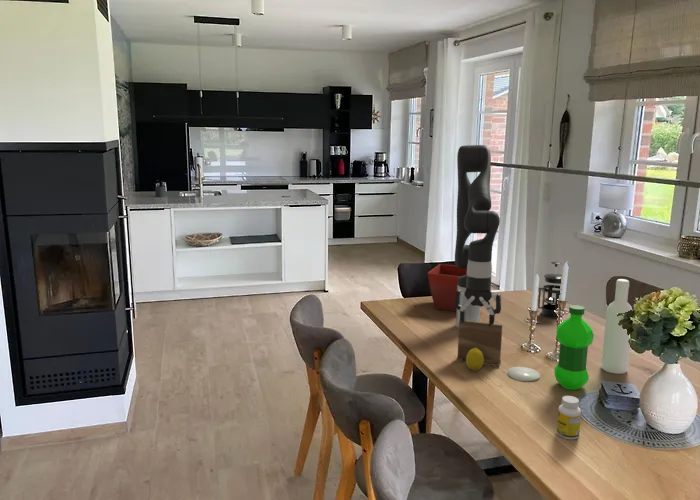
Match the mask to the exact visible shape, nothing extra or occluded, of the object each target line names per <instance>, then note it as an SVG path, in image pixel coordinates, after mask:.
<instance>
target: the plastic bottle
mask: <svg viewBox="0 0 700 500" xmlns="http://www.w3.org/2000/svg"><path fill="white" fill-rule="evenodd" d="M568 308H569V309H568V313H569V314H570V317H569V318H566V319H565V320H564V321H562V322H560V323H559V324H558V325H557V327H556V338H557V341H558V342H559V349H558V350H559V351H558V363H557V364H556V366H555V367H554V377H555V380H556V381H557V383H558V384H559V385H560V386H561V387H563V388H564V389H566V390H572V391H573V390H574V391H575V390H578V389H580V388H581V387H583V386H585V385H586V384H587V383H588V382H589V373H588V370H587V361H588V360H587V359H588V350H589V346H590V345H592V343H593V341H594V332H593V328H592V327H591V326H590V325H589V324H588V322H586V321H585V320H584V319H583V315H584V314H585V311H586V310H585V306H582V305H577V304H575V305H574V304H572V305H569V306H568Z"/></svg>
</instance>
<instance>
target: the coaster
mask: <svg viewBox="0 0 700 500" xmlns="http://www.w3.org/2000/svg"><path fill="white" fill-rule="evenodd" d="M506 374H507V376H508V377H509V378H511V379H513V380H515V381H520V382H536V381H538V380H540V378H541V374H540V372H538V370H536V369H533V368H530V367H525V366H514V367H510V368H508V369H507V372H506Z"/></svg>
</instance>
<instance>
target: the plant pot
mask: <svg viewBox="0 0 700 500" xmlns="http://www.w3.org/2000/svg"><path fill="white" fill-rule="evenodd" d="M464 275H467V269H466V268H458V267H457V266H456V264H443V263H440V264H438V265H437V266H435V267H433V268H432V269H431V270H429V271H428V272H427V279H428V284H429V289H430V290H429V291H430V295H431V298H432V302H433V304H434V308H435V309H437V310H445V311H450V312H456V309H455V308H454V305H455V296H456V291H457V285H458V278H459V277H461V276H464Z"/></svg>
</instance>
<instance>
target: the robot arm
mask: <svg viewBox="0 0 700 500" xmlns="http://www.w3.org/2000/svg"><path fill="white" fill-rule="evenodd" d="M456 157H457V160H456V161H457V164H456V165H457V198H456V199H457V200H456V240H455V249H454V265H456V266H457V267H458V268H466V269H467V275H464V276H461V277H459V278H458V285H457V291H456V296H455V305H454V308H455V309H456V311H455V313H456V314H455V327H456V328H457V330H459V320H460V321H462V323H464V322H465V320H469V321H477V322H481V307H484V308H485V309H486V310H487V311H488V312H489V316H488V317H489V319H488V323H489V326H492V324H493V323H494V324H495V317H496V315H497V314H501V311H502V293H499V292H498V293H492V270H493V265H492V260H493V259H492V257H493V256H492V255H493V254H492V253H493V246H494V242H495V238H496V236H497V233H498V230H499V227H500V222H501V220H500V215H499V213H498V212H497V211H495V210H491V208H492V198H491V188H490V186H491V185H490V183H491V175H492V173H491V172H492V171H491V169H492V168H491V167H492V166H491V165H492V159H491V158H492V155H491V150H490V148H489V146H487V145H485V144H470V145H469V144H468V145H467V144H466V145H461V146H459V148H458V150H457V156H456ZM468 173H479V174H478V175H477V176H476V177H475V179H474V180H473V181H472V182H470V179H469V176H468ZM471 234H483V235H484V234H486V235H485V236H484V237H482V238H481V239H477V240H471V242H469V244H466V241H467V240H468V238H469V236H471ZM491 299H493V302H495V308H494V307H493V305H492V303H491V302H490V300H491Z"/></svg>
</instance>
